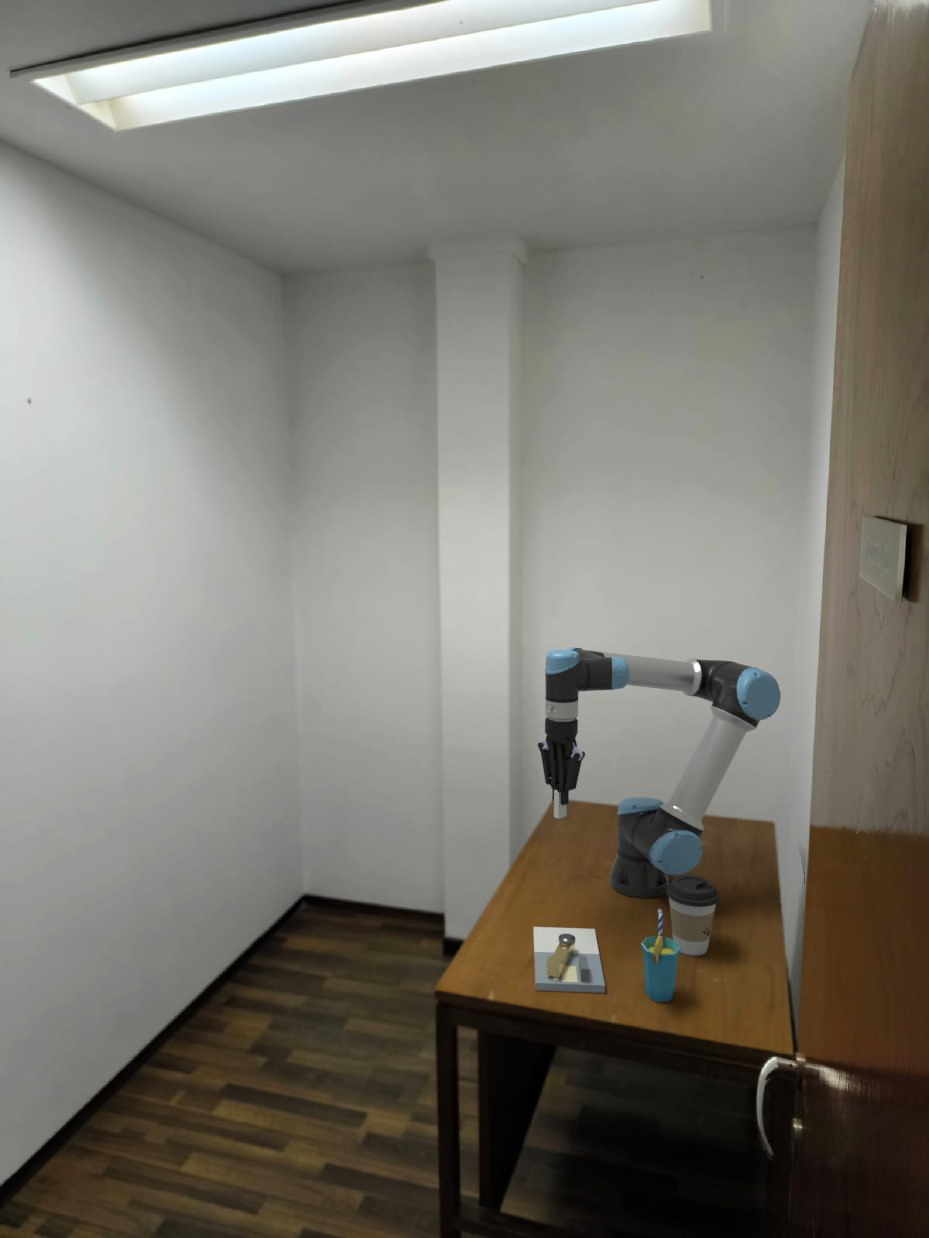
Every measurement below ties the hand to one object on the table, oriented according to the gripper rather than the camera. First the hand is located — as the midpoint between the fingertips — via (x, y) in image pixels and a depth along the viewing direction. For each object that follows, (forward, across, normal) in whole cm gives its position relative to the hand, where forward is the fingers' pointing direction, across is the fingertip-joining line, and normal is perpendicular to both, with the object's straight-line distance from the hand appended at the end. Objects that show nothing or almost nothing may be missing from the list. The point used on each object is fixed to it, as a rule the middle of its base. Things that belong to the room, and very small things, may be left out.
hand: (560, 816), depth 189 cm
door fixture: (+26, +12, -10) cm, 31 cm away
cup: (+27, +33, -5) cm, 42 cm away
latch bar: (+24, +14, -14) cm, 31 cm away
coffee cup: (+27, +27, +15) cm, 40 cm away
